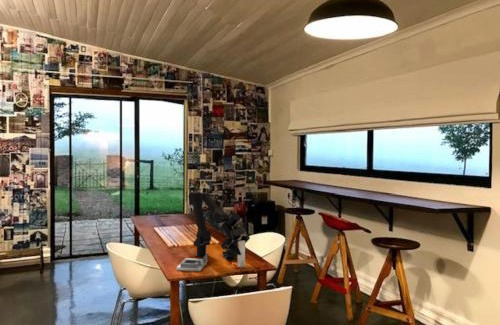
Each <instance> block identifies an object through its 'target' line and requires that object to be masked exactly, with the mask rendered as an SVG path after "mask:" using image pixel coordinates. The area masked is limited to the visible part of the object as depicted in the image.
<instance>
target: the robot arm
mask: <svg viewBox="0 0 500 325" xmlns="http://www.w3.org/2000/svg"><path fill="white" fill-rule="evenodd" d="M188 200H189V201H188V202H189V203H190V204H191V206H192V207H193V211H194V215H195V221H196V227H197V232H196V235H195V236H196V239H195V240H193V246H194V247H196V254H194V256H195V257H200V258H201V257H202V258H203V257H204V256H205V254H207V256H208V255H209V253H207V246H209V245H210V243H211V241H212V234H211V230H210V229H208V228H207V226H206V225H207V224H206V222H205V220H206V219H205V216H204V212H203V207H202V205H203V203H204V204H205V205H206V206H207V208H208V209H209V211H210V212H211V214H212V218H213V220H214V222H215V224H219V228H218V230H219V231H223V233H224V235H225V236H224V238H225V239H224V240H223V242H221V244H220V247H221V249H222V250H223V249H224V250H225V249H226V248H227V246H229V247H228V249H230V250H232V251H234V252H235V253H237V254H238V255H241V252H240V250H239V249H238V241H245V244H247V243H248V242H249V240H250V239H251V237H250V235H249V234H246V233H247V230H246V228H245V227H244V226H243V227H240V228H238V229H234V227H235V226H237V224H238V223H239V222H240V221H241V216H240V215H239V214H238V213H236V212H235V211H233V210H232V211H230V213H229V214H227V212H225V211H224V210H222V209H221V208H219V206H218V205H217V203H216V202H215V201H214V199H213V198H212V197H211V196H210V193H209V192H201V191H190V193H189V194H188ZM247 253H248V252H247V248H246V247H245V255H246V254H247Z"/></svg>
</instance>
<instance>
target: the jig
mask: <svg viewBox="0 0 500 325" xmlns="http://www.w3.org/2000/svg"><path fill="white" fill-rule="evenodd" d="M207 254H208V253H206V254H205V256H204V257H202V258H190V257H189V258H187V257H185V258H184V259H183V260H182V261H181V262H180V263H179V264H178V265H177V266H176V268H175V270H176V271H184V272H185V271H187V272H188V271H189V272H201V271H202V270H203V269H204V267H205V266H206V265H207V263H208V260H209V259H208V255H207Z"/></svg>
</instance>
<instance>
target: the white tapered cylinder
mask: <svg viewBox="0 0 500 325" xmlns="http://www.w3.org/2000/svg"><path fill="white" fill-rule="evenodd" d="M237 247H238V249H239V250H240V252H241V255H238V256H237V267H238V268H245V267H246V254H245V248H246V243H245V241H238V243H237Z"/></svg>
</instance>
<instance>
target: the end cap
mask: <svg viewBox="0 0 500 325" xmlns="http://www.w3.org/2000/svg"><path fill="white" fill-rule="evenodd" d="M226 246H227V248H226V249H222V250H224V251H222V257H223V259H225V260H226V261H233V260H235V259H236V258H238V254H237V253H235V252H234V251H232V250H230V249H228V247H229V246H228V245H226Z"/></svg>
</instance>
